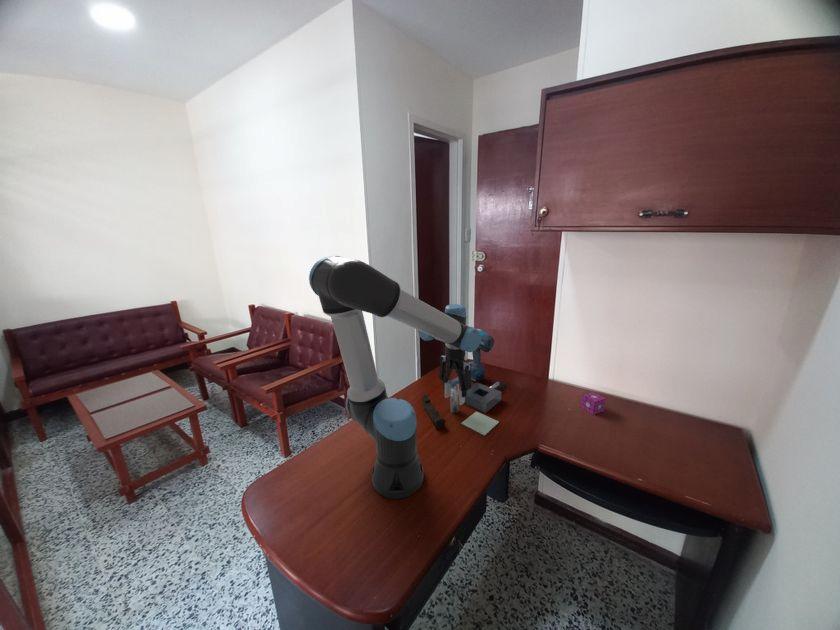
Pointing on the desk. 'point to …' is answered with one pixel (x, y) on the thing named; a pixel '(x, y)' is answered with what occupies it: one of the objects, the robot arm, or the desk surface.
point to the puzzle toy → (593, 403)
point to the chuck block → (483, 396)
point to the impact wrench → (478, 367)
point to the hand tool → (433, 412)
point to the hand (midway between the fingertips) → (454, 399)
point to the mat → (480, 423)
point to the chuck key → (454, 395)
